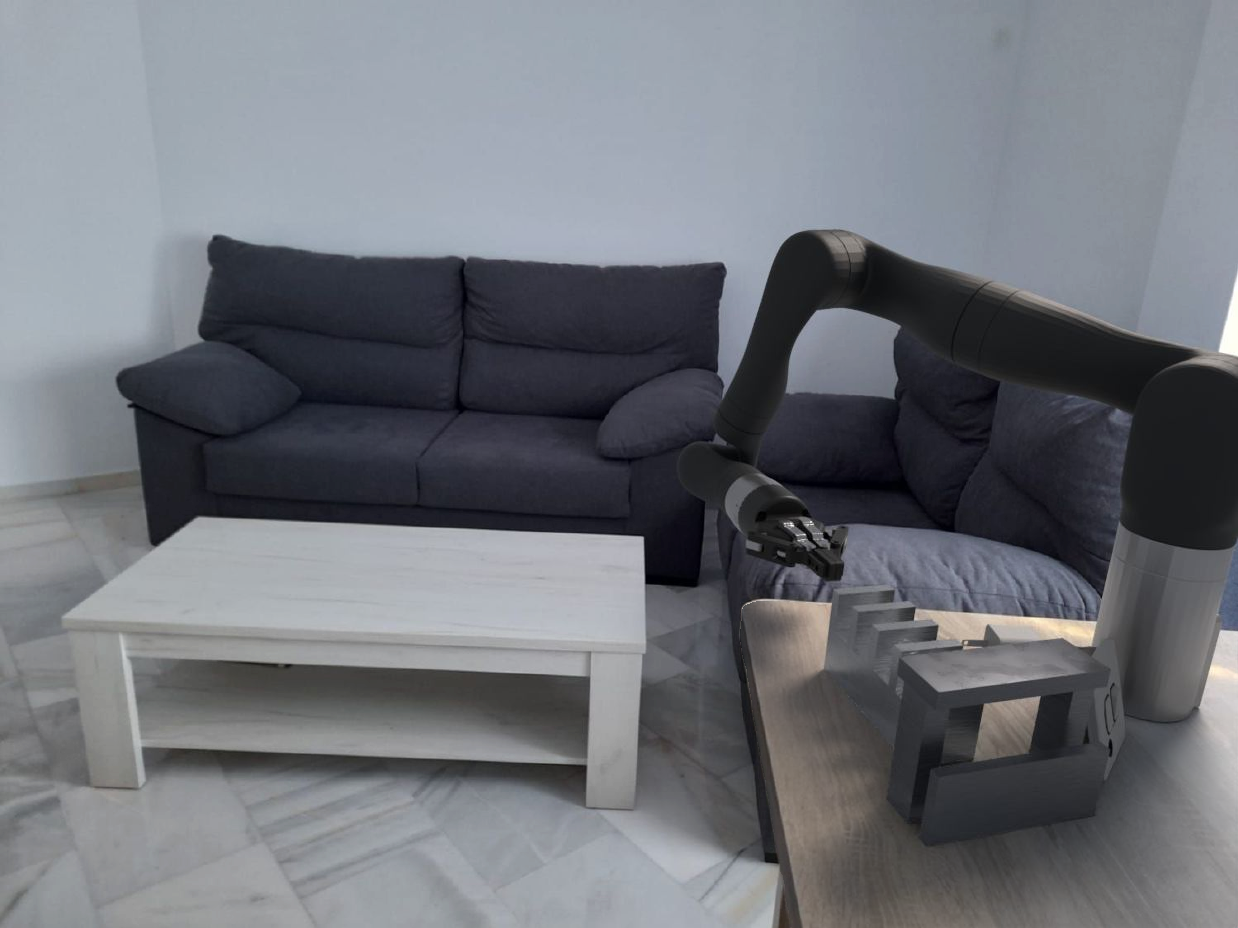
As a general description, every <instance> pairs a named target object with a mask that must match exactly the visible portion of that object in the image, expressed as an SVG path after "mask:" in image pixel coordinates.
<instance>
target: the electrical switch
mask: <svg viewBox="0 0 1238 928" xmlns="http://www.w3.org/2000/svg"><path fill="white" fill-rule="evenodd" d="M1075 646H1076V647H1077V648H1079V649H1080V650H1082V651H1083V652H1085V653H1086V654H1088V655H1090V656H1091V657H1093V658H1094V659H1096V660H1097V661H1099V662H1100V663H1102V664H1103V665H1105V666H1106V667H1108V668H1109V669H1111V672H1110V676H1109V680H1108V685H1107V687H1103V688H1096V689H1095V691H1094V695H1093V699H1092V704H1091V708H1090V713H1089V717H1088V722H1087V726H1086V730H1085V735H1084V739H1083V744H1089V743H1096V742H1101V743H1102V744H1104V745H1105V746H1106V747H1108V748H1109V749H1110V753H1109V757H1108V761H1107V765H1106V770H1105V774H1104V778H1103V782H1107V780H1108V777H1109V775H1110V773H1111V771H1112V768H1113V766H1114V764H1115V761H1116V758H1117V756H1118V754H1119V752H1120V749H1121V747H1122V745H1123V742H1124V739H1125V738H1126V723H1125V722H1126V721H1125V713H1124V710H1123V702H1122V693H1121V685H1120V677H1119V669H1118V662H1117V656H1116V649H1115V643H1114V641H1113V640H1111V639H1104V638H1102V640H1101V642H1100V644H1099V645H1098V647H1091V645H1090V646H1087V645H1086V646H1077V645H1075ZM1083 744H1082V745H1083Z"/></svg>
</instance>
